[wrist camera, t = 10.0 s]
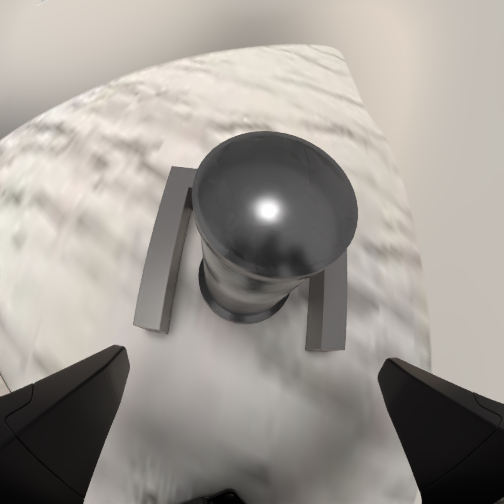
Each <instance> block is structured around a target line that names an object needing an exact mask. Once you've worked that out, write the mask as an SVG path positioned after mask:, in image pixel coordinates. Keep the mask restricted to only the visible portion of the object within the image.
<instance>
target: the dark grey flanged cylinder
mask: <svg viewBox="0 0 504 504" xmlns="http://www.w3.org/2000/svg"><path fill="white" fill-rule="evenodd" d="M192 204H193V212H194V219H195V222H196V226H197V229H198V231H199V233H200V235H201V241H202V252H203V259H202V261H201V264H200V268H199V285H200V290H201V293H202V295H203V298H204V300H205V301H206V303H207V304H208V306H209V307H210V308H211V309H212V310H213V311H214V312H215V313H216V314H218V315H219V316H220V317H222V318H224V319H226V320H228V321H231V322H235V323H240V324H251V323H257V322H260V321H263V320H265V319H267V318H269V317H270V316H272V315H273V314H275V313H276V312H277V311H278V310H279V309H280V308H281V307H282V306H283V305H284V303H285V301H286V300H287V298H288V296H289V293H290V292H291V291H292V290H293V289H294V288H295V287H297V286H298V285H299V284H300V283H301V282H303V281H304V280H305V279H306V278H309V277H312V276H314V275H316V274H318V273H320V272H321V271H323V270H324V269H326V268H327V267H328V266H330V265H331V264H332V263H333V262H334V261H336V260H337V259H338V258H339V257H340V256H341V255H342V254H343V253H344V252H345V250H346V249H347V247H348V246H349V245H350V243H351V241H352V239H353V237H354V234H355V230H356V227H357V220H358V207H357V200H356V196H355V193H354V190H353V187H352V185H351V183H350V181H349V179H348V177H347V176H346V174H345V173H344V171H343V170H342V168H341V167H340V166H339V165H338V164H337V163H336V162H335V160H334V159H332V158H331V157H330V156H329V155H328V154H327V153H326V152H324V151H323V150H322V149H320V148H319V147H317V146H315V145H314V144H312V143H310V142H308V141H306V140H304V139H301V138H299V137H296V136H293V135H289V134H285V133H279V132H270V131H259V132H250V133H245V134H241V135H238V136H235V137H232V138H230V139H228V140H226V141H224V142H222V143H221V144H219V145H218V146H217V147H215V148H214V149H213V150H212V151H211V152H210V153H209V154H208V155H207V156H206V157H205V158H204V160H203V161H202V162H201V164H200V166H199V168H198V169H197V172H196V174H195V177H194V181H193V186H192Z"/></svg>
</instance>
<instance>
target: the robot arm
mask: <svg viewBox="0 0 504 504" xmlns="http://www.w3.org/2000/svg"><path fill="white" fill-rule="evenodd" d="M129 369H130V364H129V359H128V355H127V351H126V348H125V347H124V346H119V345H113V346H110V347H108V348H106V349H104V350H102V351H100V352H98V353H96V354H94V355H92V356H90V357H88V358H86V359H84V360H82V361H79V362H77V363H75V364H73V365H71V366H69V367H67V368H65V369H63V370H61V371H58V372H56V373H54V374H52V375H50V376H48V377H46V378H43V379H41V380H39V381H37V382H35V383H34V384H33V383H32V384H30V385H27V386H25V387H23V388H21V389H18V390H16V391H13V392H11V393H8V394H6V395H3V396H0V504H83V502H84V498H85V496H86V493H87V490H88V487H89V484H90V481H91V478H92V475H93V472H94V470H95V467H96V464H97V461H98V459H99V456H100V453H101V451H102V448H103V445H104V443H105V440H106V438H107V435H108V433H109V430H110V428H111V425H112V423H113V420H114V418H115V415H116V413H117V410H118V408H119V405H120V402H121V399H122V395H123V392H124V388H125V384H126V381H127V377H128V374H129ZM378 382H379V385H380V389H381V392H382V395H383V398H384V402H385V405H386V408H387V411H388V413H389V416H390V418H391V420H392V423H393V425H394V427H395V430H396V432H397V434H398V437H399V439H400V442H401V444H402V447H403V449H404V452H405V454H406V457H407V459H408V462H409V464H410V467H411V470H412V472H413V475H414V477H415V480H416V483H417V486H418V488H419V491H420V494H421V498H422V504H504V404H502V403H500V402H496V401H494V400H491V399H489V398H486V397H484V396H481V395H479V394H477V393H474V392H473V393H472V392H471V391H469V390H467V389H464V388H462V387H460V386H457V385H455V384H453V383H451V382H448V381H446V380H444V379H442V378H439V377H437V376H435V375H433V374H431V373H429V372H426V371H424V370H422V369H420V368H418V367H416V366H413V365H411V364H409V363H407V362H405V361H403V360H401V359H399V358H388V359H386V360H385V362H384V364H383V366H382V368H381V370H380V372H379V374H378ZM227 494H233V496H230V497H229V496H227ZM185 504H247V503H246V502H245V501H244V500H243V499H242V498H241V497H240V495H239V494H238V493H237V492H236V491H235V490H233V489H226V490H224V491H221V492H219V493H217V494H214V495H212V496H209V497H207V498H206V497H201V498H199V499H196V500H193V501H190V502H188V503H185Z"/></svg>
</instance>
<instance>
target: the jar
mask: <svg viewBox="0 0 504 504" xmlns="http://www.w3.org/2000/svg"><path fill="white" fill-rule="evenodd" d="M8 393H10V391H9V389H8V388H7V386H6V384H5V382H4V381H3V379H2V377H1V375H0V396H3V395H6V394H8Z"/></svg>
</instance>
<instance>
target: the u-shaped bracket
mask: <svg viewBox="0 0 504 504" xmlns="http://www.w3.org/2000/svg"><path fill="white" fill-rule="evenodd" d="M196 172H197V169H193V168H184V167H175V166H172V167H171V170H170V173H169V177H168V180H167V183H166V186H165V189H164V193H163V196H162V200H161V203H160V206H159V210H158V214H157V217H156V221H155V225H154V228H153V232H152V236H151V240H150V244H149V248H148V252H147V257H146V261H145V265H144V270H143V275H142V279H141V284H140V289H139V294H138V299H137V305H136V310H135V316H134V322H133V325H135V326H138V327H140V328H143V329H146V330H151V331H156V332H161V333H167V334H168V328H169V322H170V315H171V309H172V303H173V297H174V291H175V286H176V280H177V275H178V269H179V264H180V259H181V254H182V249H183V244H184V239H185V235H186V230H187V225H188V221H189V216H190V212H191V209H193V204H192V186H193V181H194V177H195V174H196ZM346 318H347V249H346V250H345V252H344V253H343V254H342V255H341V256H340V257H339V258H338V259H337V260H336V261H334V262H333V263H332V264H331V265H330V266H328V267H327V268H326V269H324V270H323V271H321V272H320V273H318V274H316V275H314V276H312V277H310V286H309V305H308V322H307V336H306V348H305V350H310V351H338V350H345V340H346Z"/></svg>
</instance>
